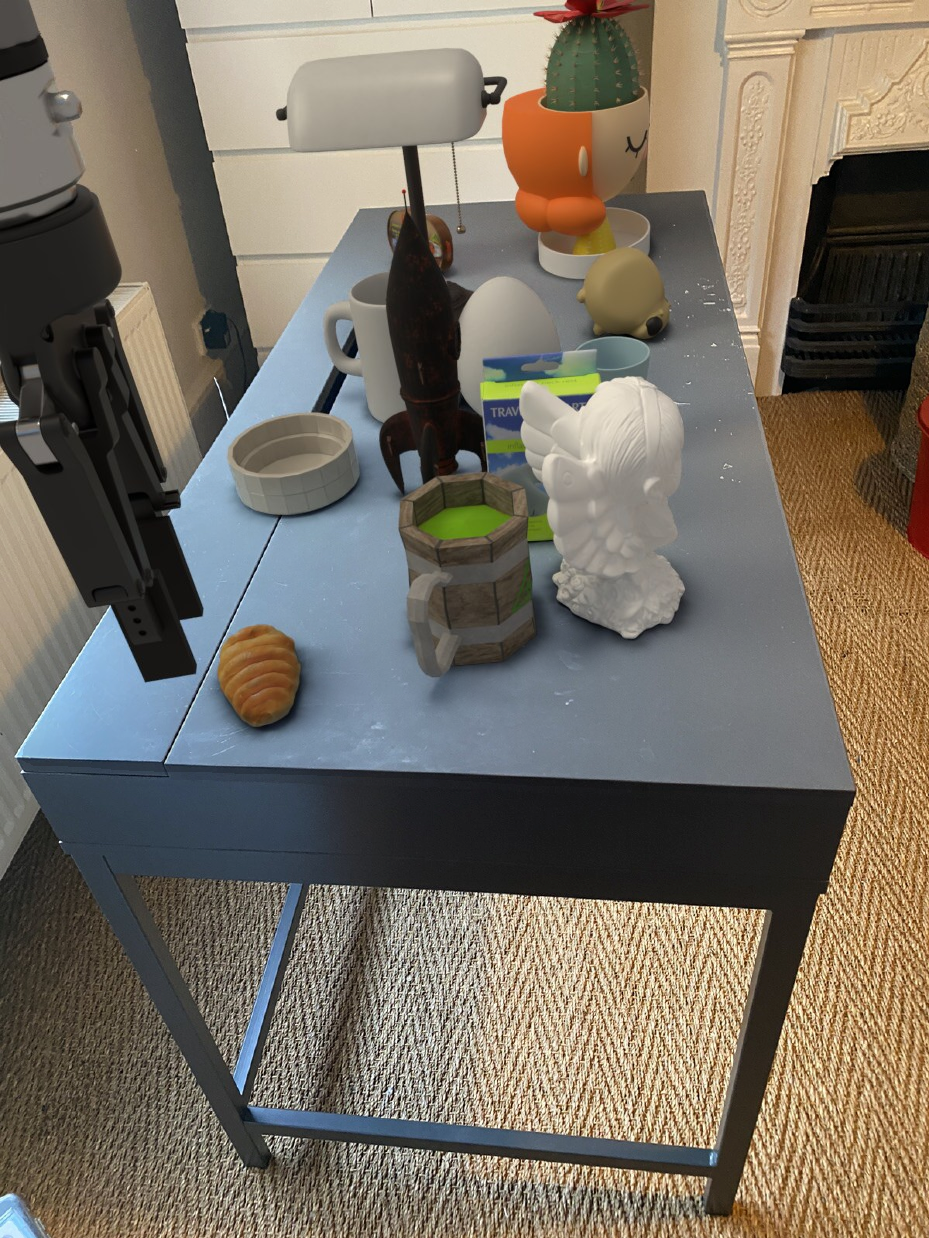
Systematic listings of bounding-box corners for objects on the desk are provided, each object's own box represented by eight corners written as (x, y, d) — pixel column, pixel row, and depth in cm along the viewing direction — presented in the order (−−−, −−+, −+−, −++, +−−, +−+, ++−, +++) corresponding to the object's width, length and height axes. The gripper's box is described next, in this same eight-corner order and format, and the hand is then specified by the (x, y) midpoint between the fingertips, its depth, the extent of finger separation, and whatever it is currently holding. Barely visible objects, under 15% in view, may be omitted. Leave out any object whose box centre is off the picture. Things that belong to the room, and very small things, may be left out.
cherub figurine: (703, 642, 76) (723, 423, 63) (551, 662, 76) (540, 447, 63) (663, 548, 86) (672, 342, 73) (529, 566, 86) (514, 363, 73)
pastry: (315, 717, 74) (304, 683, 71) (231, 742, 72) (217, 709, 70) (295, 644, 81) (285, 610, 78) (218, 666, 79) (205, 633, 77)
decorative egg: (570, 382, 112) (567, 257, 103) (551, 433, 103) (545, 302, 94) (473, 379, 115) (461, 257, 106) (446, 428, 107) (430, 301, 97)
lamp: (312, 369, 122) (247, 78, 100) (356, 295, 140) (310, 35, 118) (511, 364, 118) (489, 57, 96) (531, 289, 136) (516, 16, 114)
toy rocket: (434, 530, 91) (388, 214, 72) (385, 495, 97) (331, 194, 78) (504, 495, 95) (478, 185, 76) (453, 463, 101) (417, 167, 81)
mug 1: (472, 384, 114) (460, 267, 105) (443, 430, 106) (428, 308, 97) (355, 378, 119) (334, 266, 110) (320, 421, 111) (293, 304, 102)
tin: (389, 260, 151) (381, 206, 145) (405, 254, 152) (397, 200, 147) (443, 282, 141) (436, 225, 136) (459, 276, 142) (454, 219, 137)
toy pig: (617, 372, 121) (680, 325, 113) (555, 303, 118) (616, 249, 110) (636, 338, 127) (697, 290, 120) (578, 271, 124) (637, 218, 116)
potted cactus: (654, 226, 150) (662, -36, 127) (642, 280, 134) (649, -10, 111) (523, 230, 155) (508, -22, 133) (496, 282, 139) (474, 5, 116)
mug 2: (443, 576, 86) (426, 464, 78) (555, 595, 82) (550, 479, 74) (369, 693, 75) (341, 577, 67) (494, 721, 71) (480, 601, 64)
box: (493, 546, 89) (476, 378, 77) (493, 521, 92) (477, 357, 80) (605, 539, 88) (604, 368, 76) (601, 514, 91) (600, 347, 80)
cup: (592, 468, 97) (591, 375, 90) (564, 435, 103) (562, 346, 96) (659, 451, 98) (663, 358, 92) (628, 419, 104) (629, 330, 98)
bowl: (236, 527, 95) (223, 486, 92) (242, 462, 106) (230, 423, 102) (363, 506, 96) (355, 464, 93) (357, 444, 106) (349, 404, 103)
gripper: (48, 262, 30) (236, 746, 45) (122, 136, 43) (248, 544, 58) (-189, 298, 30) (80, 773, 45) (-42, 159, 43) (128, 563, 58)
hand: (175, 643), depth 51 cm, fingers open, 4 cm apart
